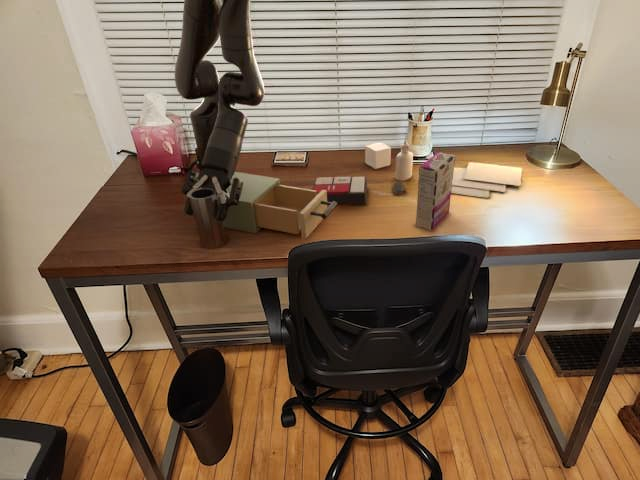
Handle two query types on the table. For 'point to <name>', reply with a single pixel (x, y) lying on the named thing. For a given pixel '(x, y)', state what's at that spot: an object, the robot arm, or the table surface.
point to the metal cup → (207, 217)
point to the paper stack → (484, 179)
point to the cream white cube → (377, 155)
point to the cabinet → (247, 201)
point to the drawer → (292, 209)
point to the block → (399, 188)
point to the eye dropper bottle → (404, 163)
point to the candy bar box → (434, 190)
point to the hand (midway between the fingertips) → (203, 217)
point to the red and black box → (343, 189)
